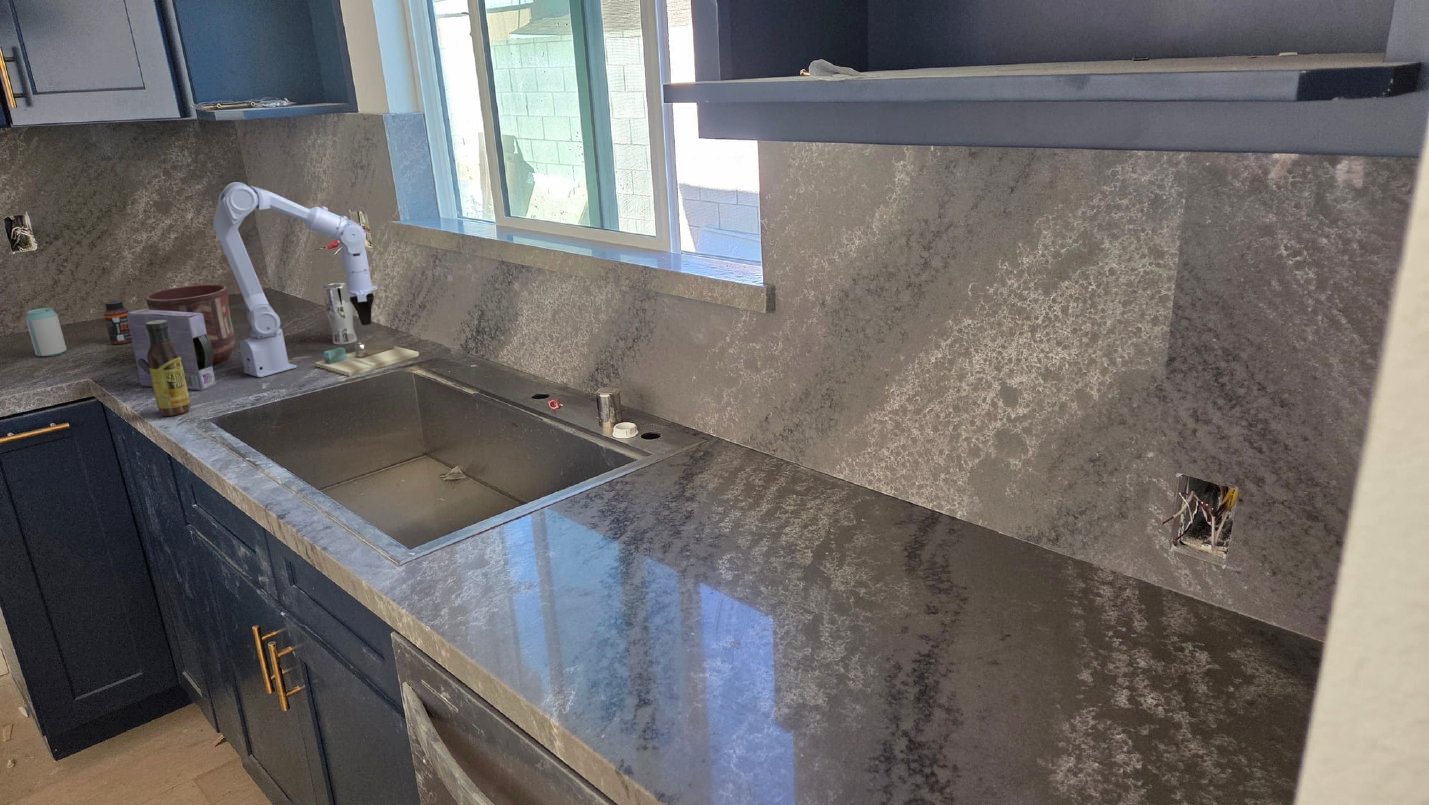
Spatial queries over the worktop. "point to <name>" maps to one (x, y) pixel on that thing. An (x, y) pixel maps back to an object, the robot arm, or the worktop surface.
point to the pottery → (203, 301)
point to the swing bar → (373, 346)
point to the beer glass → (339, 312)
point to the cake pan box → (175, 345)
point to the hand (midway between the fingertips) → (366, 324)
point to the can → (45, 332)
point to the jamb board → (362, 360)
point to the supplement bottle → (117, 323)
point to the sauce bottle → (166, 371)
